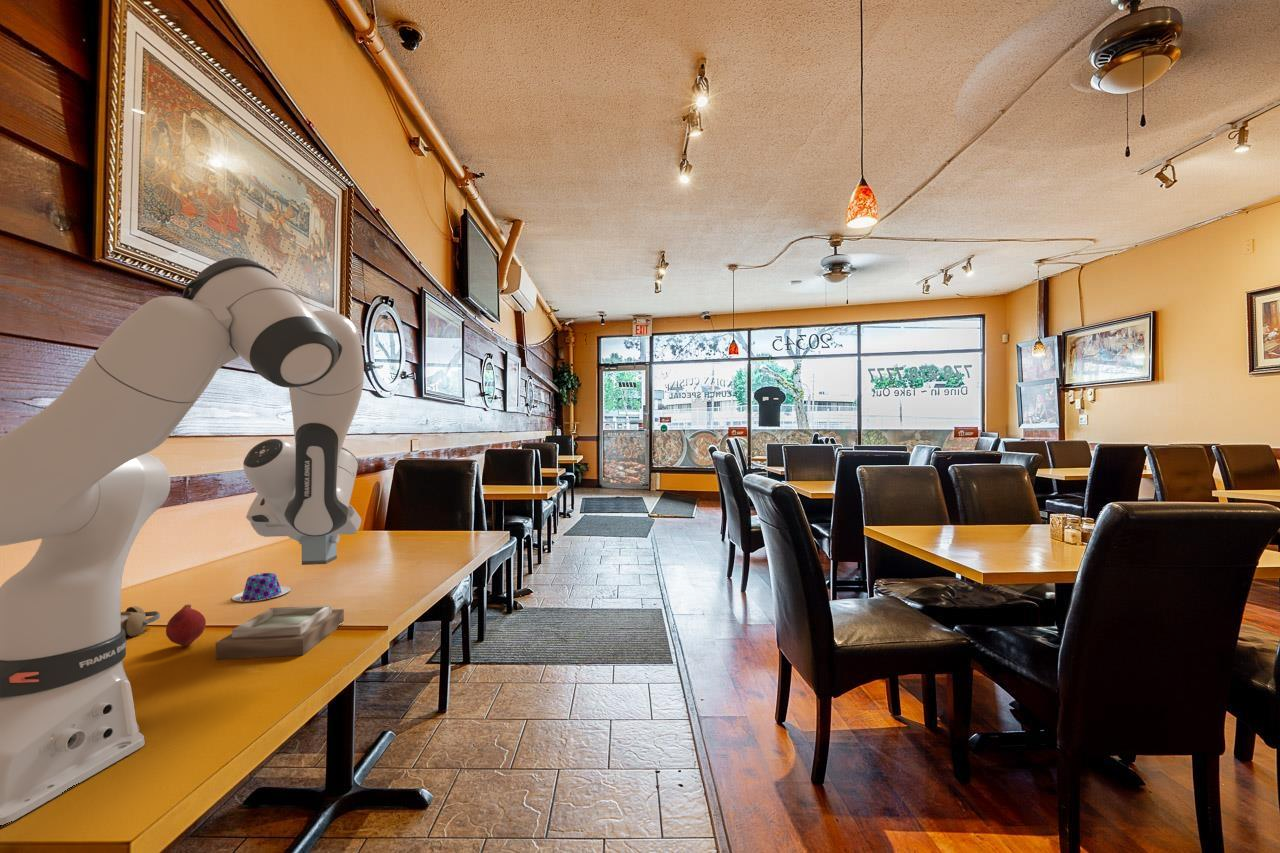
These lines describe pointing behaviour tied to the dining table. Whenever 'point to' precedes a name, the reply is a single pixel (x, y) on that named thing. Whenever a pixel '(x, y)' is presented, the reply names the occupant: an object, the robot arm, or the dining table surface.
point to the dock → (280, 632)
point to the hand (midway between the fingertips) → (320, 541)
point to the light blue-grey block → (318, 550)
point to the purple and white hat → (261, 588)
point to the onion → (185, 626)
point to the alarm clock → (136, 620)
